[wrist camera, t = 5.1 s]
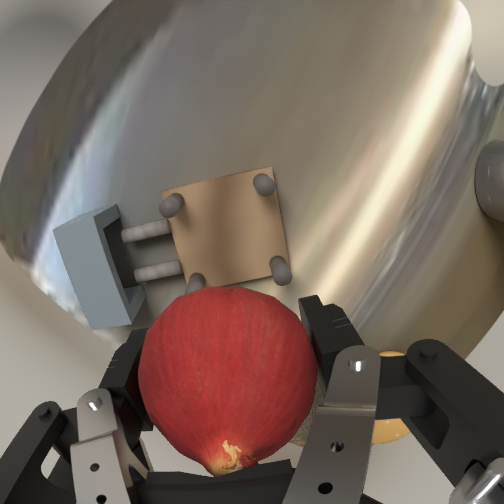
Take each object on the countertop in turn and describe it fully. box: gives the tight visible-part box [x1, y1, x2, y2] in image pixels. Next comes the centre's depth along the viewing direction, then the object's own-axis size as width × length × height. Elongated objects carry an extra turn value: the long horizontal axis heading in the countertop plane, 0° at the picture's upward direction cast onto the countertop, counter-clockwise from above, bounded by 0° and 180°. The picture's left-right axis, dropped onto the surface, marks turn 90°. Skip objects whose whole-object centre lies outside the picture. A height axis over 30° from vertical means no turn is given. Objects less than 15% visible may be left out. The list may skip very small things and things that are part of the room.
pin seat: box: [121, 167, 292, 295], centre depth 24 cm, size 13×9×4 cm
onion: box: [138, 287, 319, 477], centre depth 9 cm, size 6×6×8 cm
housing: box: [53, 204, 146, 330], centre depth 24 cm, size 4×9×5 cm, turn 11°
